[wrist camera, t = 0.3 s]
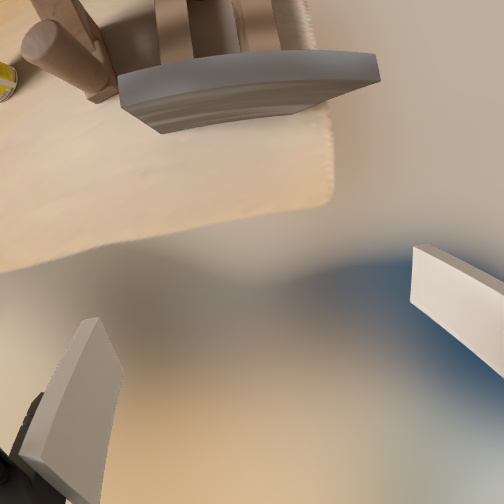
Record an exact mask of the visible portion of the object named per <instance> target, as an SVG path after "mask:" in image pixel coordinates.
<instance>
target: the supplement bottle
mask: <svg viewBox="0 0 504 504" xmlns="http://www.w3.org/2000/svg"><path fill="white" fill-rule="evenodd" d="M17 79H18V76H17V72H16V70H15V69H14V68H13V67H11V66H9V65H6V64H4V63H1V62H0V103H1V102H4V101H5V100H7V99H8V98H9V97H10V96H11V94H12V93H13V91H14V90H15V87H16V84H17Z"/></svg>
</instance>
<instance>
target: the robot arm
mask: <svg viewBox="0 0 504 504" xmlns="http://www.w3.org/2000/svg"><path fill="white" fill-rule="evenodd" d="M410 302H411V303H412V304H414V305H415V306H416V307H418V308H419V309H420V310H422V311H423V312H424V313H426V314H427V315H428V316H429V317H431V318H432V319H433V320H434V321H436V322H437V323H438V324H439V325H441V326H442V327H443V328H444V329H446V330H447V331H448V332H449V333H451V334H452V335H453V336H454V337H455V338H457V339H458V340H459V341H460V342H462V343H463V344H464V345H465V346H467V347H468V348H469V349H470V350H471V351H472V352H474V353H475V354H476V355H477V356H478V357H480V358H481V359H482V360H483V361H484V362H486V363H487V364H488V365H489V366H490V367H491V368H492V369H494V370H495V371H496V372H497V373H498V374H499V375H500V376H502V377H503V378H504V283H503V282H502V281H500V280H498V279H496V278H494V277H492V276H490V275H489V274H487V273H485V272H483V271H481V270H479V269H477V268H475V267H473V266H471V265H469V264H468V263H466V262H464V261H462V260H460V259H458V258H456V257H454V256H452V255H449V254H447V253H445V252H443V251H441V250H439V249H437V248H435V247H433V246H431V245H429V244H426V243H424V244H421V245H417V246H414V247H413V268H412V284H411V297H410ZM123 375H124V370H123V368H122V366H121V364H120V362H119V360H118V358H117V356H116V354H115V352H114V349H113V347H112V345H111V343H110V341H109V338H108V336H107V334H106V331H105V329H104V327H103V324H102V322H101V320H100V318H99V317H96V318H90V319H84V320H83V321H82V322H81V324H80V326H79V327H78V329H77V331H76V333H75V335H74V336H73V338H72V340H71V342H70V344H69V345H68V347H67V349H66V351H65V353H64V355H63V357H62V359H61V360H60V363H59V364H58V367H57V368H56V370H55V372H54V374H53V376H52V378H51V380H50V382H49V385H48V386H47V388H46V391H45V392H43V393H42V392H41V393H40V394H39V395H38V397H37V398H36V399H35V400H34V401H33V402H32V403H31V406H30V408H29V410H28V412H27V416H25V418H24V421H23V426H21V427H20V430H19V432H18V434H17V437H16V439H15V442H14V444H13V447H12V449H11V452H10V454H9V457H8V455H7V454H6V453H5V452H4V451H3V450H2V449H1V448H0V504H65V502H66V499H67V500H69V501H70V502H71V503H72V504H100V497H101V489H102V482H103V475H104V469H105V462H106V456H107V451H108V445H109V440H110V434H111V429H112V424H113V418H114V414H115V409H116V405H117V401H118V396H119V392H120V387H121V383H122V379H123Z"/></svg>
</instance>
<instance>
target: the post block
mask: <svg viewBox="0 0 504 504" xmlns="http://www.w3.org/2000/svg"><path fill="white" fill-rule="evenodd" d="M192 1H200V0H155V12H156V23H157V33H158V42H159V51H160V60H161V65H158V66H154V67H149V68H145V69H141V70H137V71H133V72H129V73H126V74H122V75H119V76H117V78H118V87H119V96H120V104H121V108H122V109H124V110H125V111H127V112H129V113H130V114H132V115H133V116H135V117H136V118H138V119H139V120H141V121H142V122H144V123H145V124H147V125H148V126H150V127H151V128H153V129H154V130H156V131H157V132H159V133H160V134H165V133H170V132H175V131H179V130H184V129H190V128H195V127H200V126H206V125H212V124H218V123H224V122H231V121H238V120H245V119H253V118H261V117H271V116H281V115H291V114H294V113H296V112H298V111H301V110H303V109H306V108H308V107H311V106H313V105H316V104H318V103H321V102H324V101H326V100H329V99H331V98H334V97H337V96H339V95H342V94H345V93H348V92H351V91H353V90H356V89H359V88H362V87H365V86H368V85H371V84H374V83H377V82H380V81H381V80H380V74H379V69H378V64H377V60H376V55H375V54H368V53H358V52H346V51H326V50H281V46H280V41H279V36H278V31H277V26H276V22H275V17H274V12H273V8H272V3H271V0H232V5H233V10H234V16H235V21H236V27H237V32H238V38H239V44H240V50H241V53H233V54H224V55H216V56H209V57H202V58H195V59H194V55H193V48H192V41H191V34H190V26H189V19H188V11H187V3H186V2H192Z"/></svg>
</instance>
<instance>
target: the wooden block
mask: <svg viewBox="0 0 504 504" xmlns="http://www.w3.org/2000/svg"><path fill="white" fill-rule="evenodd" d="M31 2H32V4H33V6H34V8H35V10H36V12H37V14H38V16H39V18H40V19H41V22H39V23H37V24H35V25H34V26H33V27H32V28H31V29H30V30H29V31H28V32H27V34H26V35H25V37H24V39H23V41H22V45H21V54H22V56H23V58H24V59H25V60H26V61H28V62H30V63H32V64H34V65H36V66H38V67H40V68H42V69H43V70H45V71H47V72H49V73H51V74H53V75H55V76H57V77H59V78H60V79H62V80H64V81H66V82H68V83H70V84H72V85H73V86H75V87H77V88H79V89H81V90H82V91H84V92H85V95H86V98H87V99H88V100H89V101H91V102H93V103H95V104H98V103H100V102H101V101H103V100H105V99H107V98H109V97H111V96H113V95H115V94H117V93H119V87H118V81H117V78H116V76H115V73H114V70H113V67H112V64H111V61H110V58H109V56H108V53H107V50H106V48H105V44H104V40H103V37H102V34H101V31H100V29H99V27H98V26H97V25H96V23H95V22H94V21H93V19H92V18H91V17H90V16H89V14H88V13H87V12H86V10H85V9H84V7H83V6H82V4H81V3H80V2H79V0H31Z"/></svg>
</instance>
